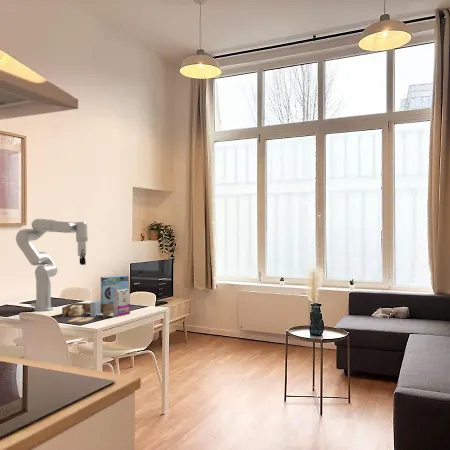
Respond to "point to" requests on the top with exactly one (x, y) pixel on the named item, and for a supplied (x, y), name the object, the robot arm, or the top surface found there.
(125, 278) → the blue cardboard box
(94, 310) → the pale blue block
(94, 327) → the top surface
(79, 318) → the mat
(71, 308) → the birch offcut
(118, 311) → the candy bar box
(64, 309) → the rack
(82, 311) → the oak offcut
